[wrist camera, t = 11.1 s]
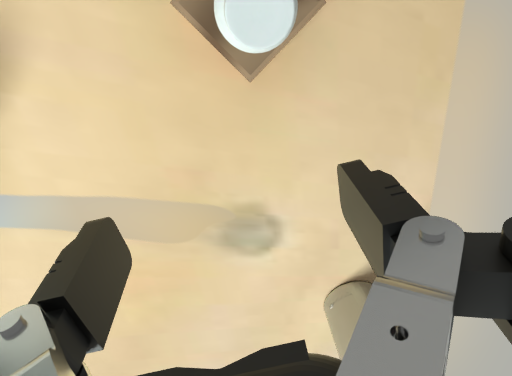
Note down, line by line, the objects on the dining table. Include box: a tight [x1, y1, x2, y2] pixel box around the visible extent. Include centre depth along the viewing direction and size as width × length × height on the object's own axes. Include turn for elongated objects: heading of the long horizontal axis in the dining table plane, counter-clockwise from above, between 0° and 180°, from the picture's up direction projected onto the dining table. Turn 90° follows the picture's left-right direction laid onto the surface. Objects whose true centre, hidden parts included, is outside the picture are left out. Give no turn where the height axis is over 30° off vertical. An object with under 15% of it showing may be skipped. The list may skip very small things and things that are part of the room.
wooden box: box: [170, 0, 326, 82], centre depth 29 cm, size 9×9×4 cm
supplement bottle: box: [214, 0, 298, 53], centre depth 23 cm, size 5×5×10 cm
